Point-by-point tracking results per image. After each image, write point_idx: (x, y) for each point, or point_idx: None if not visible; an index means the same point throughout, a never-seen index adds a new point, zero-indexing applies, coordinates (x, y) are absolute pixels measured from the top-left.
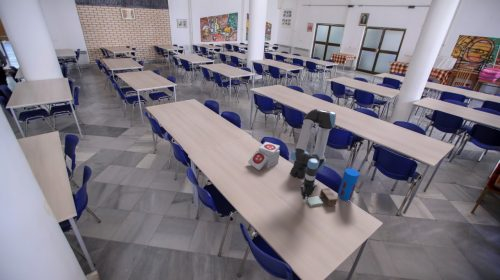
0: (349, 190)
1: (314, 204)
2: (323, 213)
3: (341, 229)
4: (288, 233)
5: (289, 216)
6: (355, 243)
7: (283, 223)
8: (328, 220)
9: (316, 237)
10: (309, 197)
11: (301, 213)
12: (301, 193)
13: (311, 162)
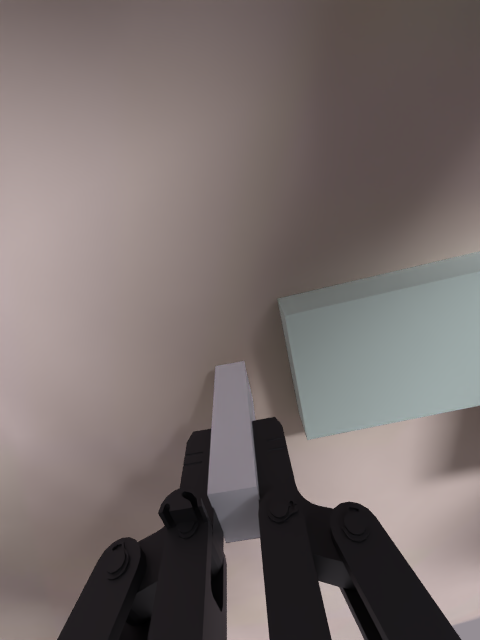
0: None
1: (362, 422)
2: (399, 480)
3: (442, 575)
4: (56, 615)
5: (47, 525)
6: (453, 621)
7: (4, 573)
8: (397, 531)
9: (241, 617)
10: (351, 306)
11: (170, 493)
12: (79, 633)
13: None
